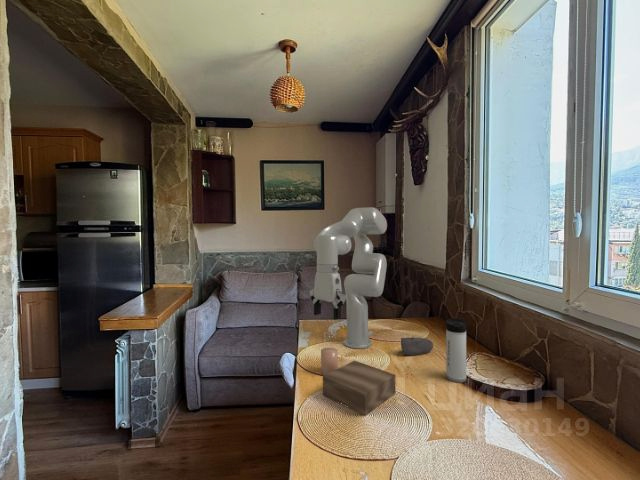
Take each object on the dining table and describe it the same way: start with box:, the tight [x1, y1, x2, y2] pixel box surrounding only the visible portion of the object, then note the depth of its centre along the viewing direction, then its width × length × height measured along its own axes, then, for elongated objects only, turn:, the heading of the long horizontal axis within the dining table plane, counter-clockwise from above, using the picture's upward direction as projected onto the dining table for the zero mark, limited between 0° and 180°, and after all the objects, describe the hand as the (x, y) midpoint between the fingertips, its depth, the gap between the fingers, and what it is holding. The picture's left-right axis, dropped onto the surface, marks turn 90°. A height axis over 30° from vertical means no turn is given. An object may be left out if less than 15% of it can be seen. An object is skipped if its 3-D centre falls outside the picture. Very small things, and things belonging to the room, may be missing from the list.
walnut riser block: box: [322, 360, 397, 417], centre depth 97 cm, size 16×16×6 cm
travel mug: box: [445, 317, 467, 384], centre depth 106 cm, size 6×7×20 cm
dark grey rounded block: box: [400, 337, 434, 356], centre depth 128 cm, size 15×5×7 cm, turn 100°
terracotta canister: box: [320, 347, 339, 376], centre depth 112 cm, size 6×6×8 cm
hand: (327, 316), depth 112 cm, fingers open, 9 cm apart
